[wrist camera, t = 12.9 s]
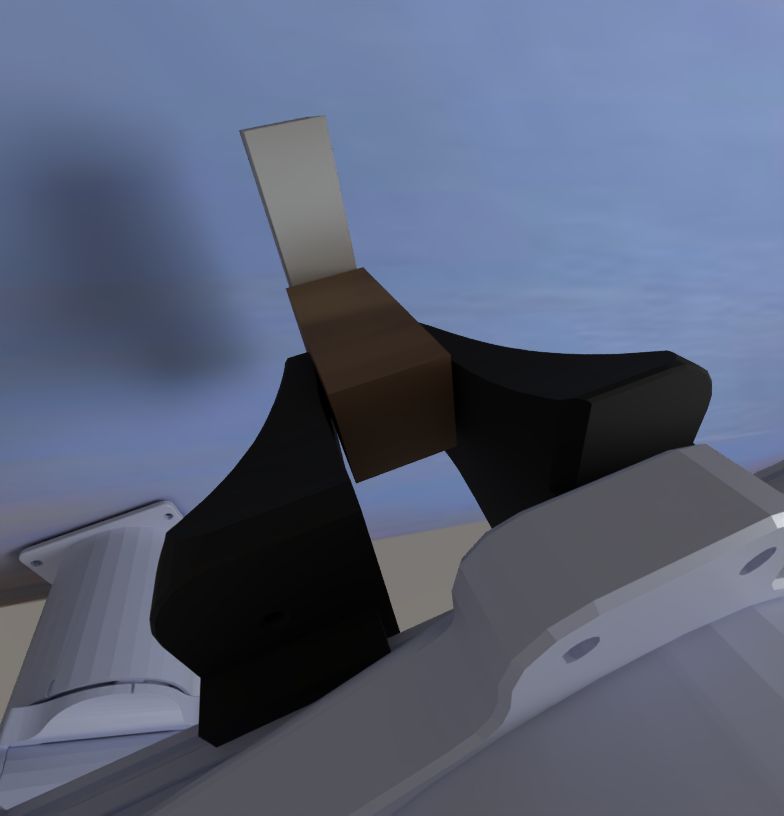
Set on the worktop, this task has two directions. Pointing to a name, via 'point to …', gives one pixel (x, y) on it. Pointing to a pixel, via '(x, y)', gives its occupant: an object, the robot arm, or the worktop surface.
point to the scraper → (349, 310)
